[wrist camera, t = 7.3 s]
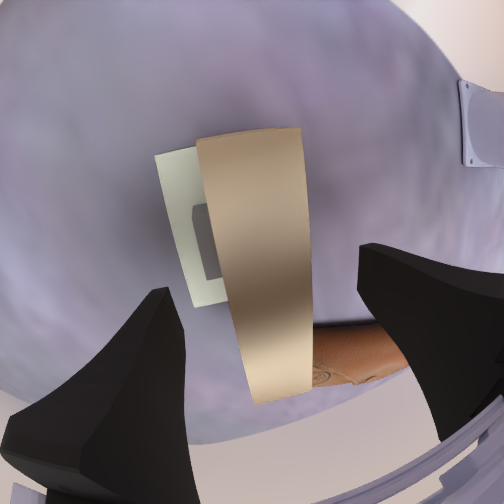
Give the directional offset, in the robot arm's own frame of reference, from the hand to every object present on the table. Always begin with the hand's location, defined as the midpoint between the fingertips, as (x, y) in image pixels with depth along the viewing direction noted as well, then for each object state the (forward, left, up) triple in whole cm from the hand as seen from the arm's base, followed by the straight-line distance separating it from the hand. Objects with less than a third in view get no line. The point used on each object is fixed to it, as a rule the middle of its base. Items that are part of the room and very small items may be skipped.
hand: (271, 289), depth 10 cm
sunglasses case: (-10, +15, -8) cm, 20 cm away
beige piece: (0, +1, -5) cm, 5 cm away
